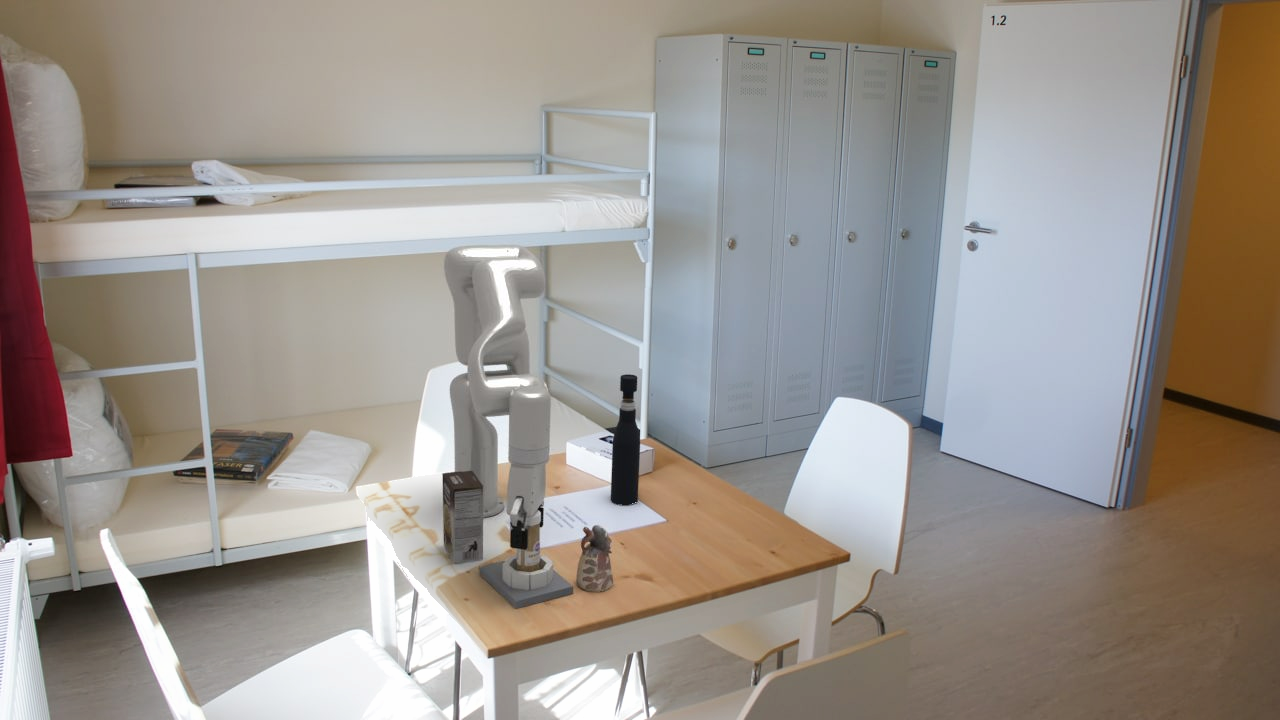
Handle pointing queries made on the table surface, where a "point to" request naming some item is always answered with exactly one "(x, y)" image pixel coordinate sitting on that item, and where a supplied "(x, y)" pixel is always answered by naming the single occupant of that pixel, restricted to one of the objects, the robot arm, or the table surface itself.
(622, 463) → the wine bottle
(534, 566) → the sprinkles bottle
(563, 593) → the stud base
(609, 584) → the figurine
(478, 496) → the coffee box
